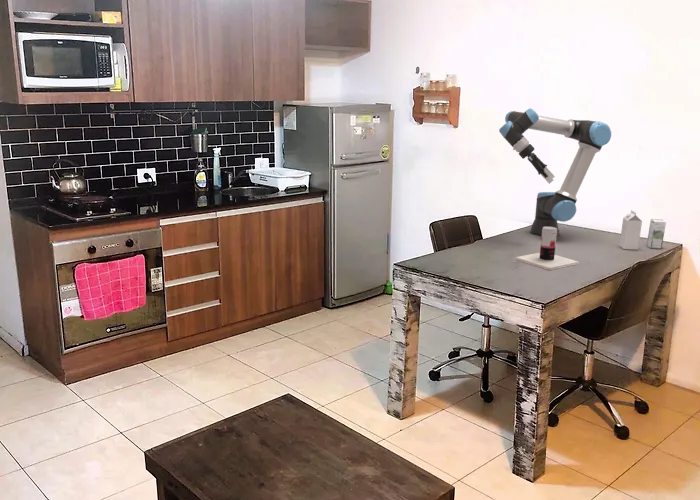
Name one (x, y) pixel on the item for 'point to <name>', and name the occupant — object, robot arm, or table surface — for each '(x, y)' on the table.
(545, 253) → the beverage can
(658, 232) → the syrup box
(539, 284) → the table surface
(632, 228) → the milk carton
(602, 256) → the table surface
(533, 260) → the ceramic tile
